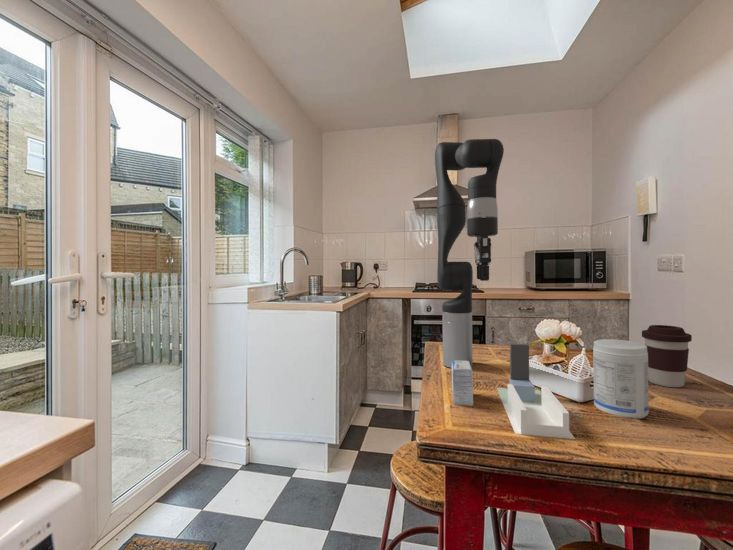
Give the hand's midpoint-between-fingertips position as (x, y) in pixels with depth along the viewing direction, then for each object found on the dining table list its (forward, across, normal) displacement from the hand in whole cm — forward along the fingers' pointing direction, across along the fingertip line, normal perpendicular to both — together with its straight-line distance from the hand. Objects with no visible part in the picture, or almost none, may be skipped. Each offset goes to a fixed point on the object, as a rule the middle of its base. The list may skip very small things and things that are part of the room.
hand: (482, 279), depth 90 cm
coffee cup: (+28, -12, +47) cm, 56 cm away
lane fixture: (+28, +14, +8) cm, 32 cm away
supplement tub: (+28, +10, +27) cm, 40 cm away
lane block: (+28, +7, +8) cm, 29 cm away
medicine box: (+28, +11, -6) cm, 31 cm away
